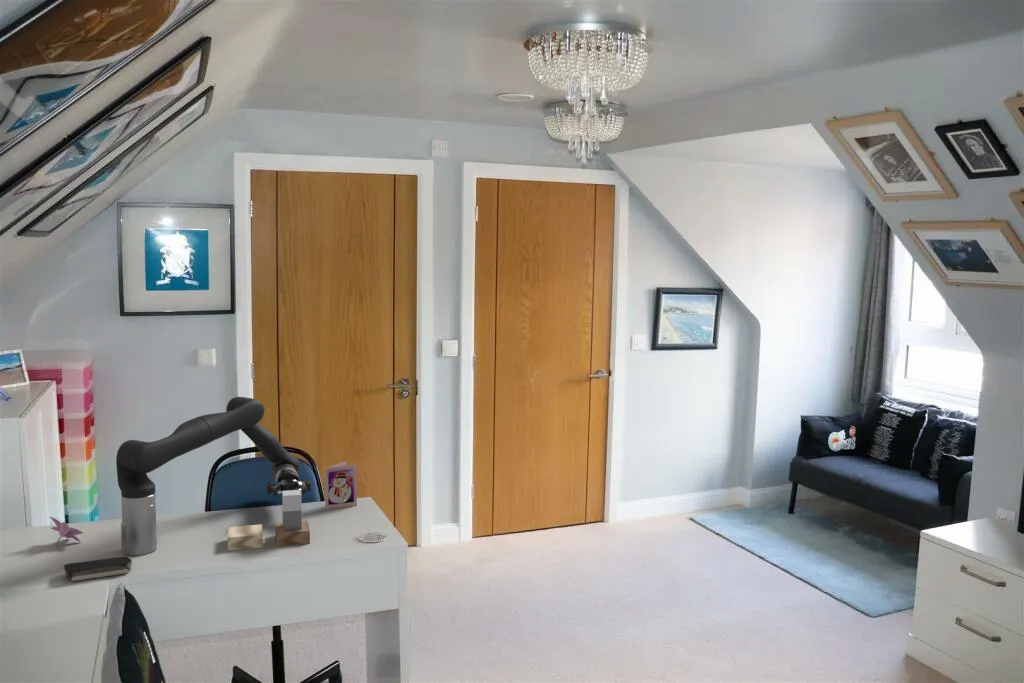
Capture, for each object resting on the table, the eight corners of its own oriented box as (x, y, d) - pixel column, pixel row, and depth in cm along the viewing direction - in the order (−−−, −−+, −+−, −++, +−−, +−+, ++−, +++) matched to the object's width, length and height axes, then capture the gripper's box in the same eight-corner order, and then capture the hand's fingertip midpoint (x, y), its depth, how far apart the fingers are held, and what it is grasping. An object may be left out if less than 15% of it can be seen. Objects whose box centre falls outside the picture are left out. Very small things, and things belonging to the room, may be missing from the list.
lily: (83, 551, 241) (92, 522, 245) (45, 545, 235) (55, 515, 238) (71, 553, 249) (80, 525, 252) (34, 547, 242) (43, 517, 246)
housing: (283, 530, 249) (283, 495, 248) (282, 524, 254) (282, 490, 253) (301, 528, 251) (301, 494, 250) (300, 523, 256) (300, 489, 255)
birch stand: (227, 550, 242) (227, 537, 242) (228, 539, 251) (228, 527, 251) (262, 547, 245) (262, 534, 245) (262, 536, 255) (261, 524, 254)
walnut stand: (276, 546, 246) (276, 533, 246) (275, 535, 256) (275, 523, 256) (309, 543, 250) (309, 530, 249) (307, 532, 259) (307, 520, 259)
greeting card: (325, 510, 283) (325, 468, 281) (320, 504, 289) (320, 463, 288) (357, 506, 288) (357, 465, 287) (351, 500, 295) (351, 460, 293)
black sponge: (64, 585, 215) (64, 572, 215) (65, 574, 222) (65, 561, 222) (132, 575, 223) (131, 563, 222) (130, 565, 230) (130, 553, 230)
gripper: (265, 470, 276) (267, 483, 260) (308, 467, 280) (312, 480, 265) (266, 491, 276) (267, 505, 261) (308, 488, 281) (312, 502, 266)
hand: (290, 492), depth 263 cm, fingers open, 8 cm apart
